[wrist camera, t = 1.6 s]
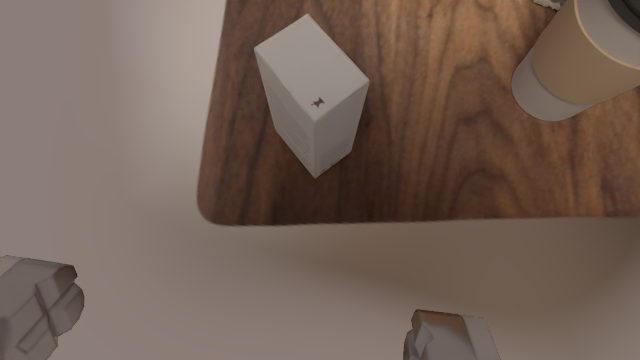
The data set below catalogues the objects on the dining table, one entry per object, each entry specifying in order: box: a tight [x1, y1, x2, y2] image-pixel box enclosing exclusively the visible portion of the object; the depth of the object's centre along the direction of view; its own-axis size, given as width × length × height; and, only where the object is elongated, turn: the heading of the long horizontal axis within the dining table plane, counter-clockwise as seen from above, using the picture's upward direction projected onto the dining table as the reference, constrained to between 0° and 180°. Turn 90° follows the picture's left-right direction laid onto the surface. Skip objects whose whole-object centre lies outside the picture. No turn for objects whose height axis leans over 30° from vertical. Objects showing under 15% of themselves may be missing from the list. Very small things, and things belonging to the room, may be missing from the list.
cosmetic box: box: [254, 14, 369, 178], centre depth 27 cm, size 6×4×12 cm
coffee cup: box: [511, 0, 640, 121], centre depth 27 cm, size 9×9×15 cm
